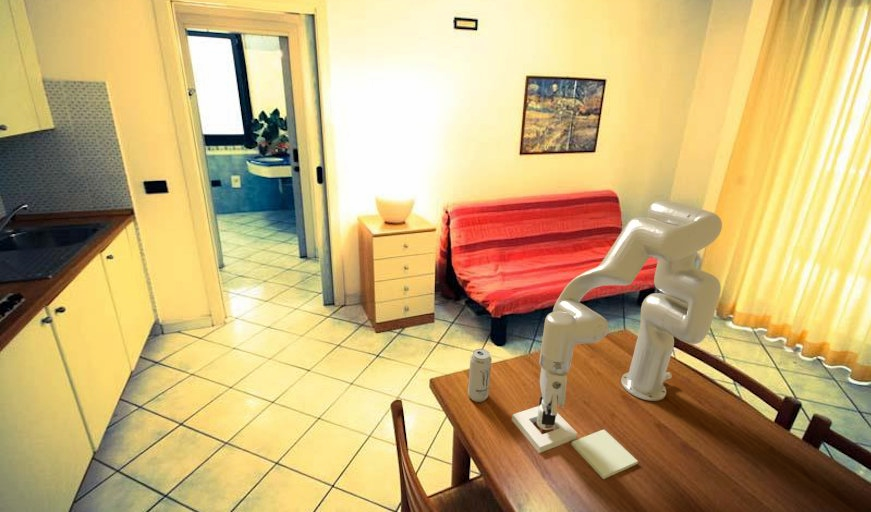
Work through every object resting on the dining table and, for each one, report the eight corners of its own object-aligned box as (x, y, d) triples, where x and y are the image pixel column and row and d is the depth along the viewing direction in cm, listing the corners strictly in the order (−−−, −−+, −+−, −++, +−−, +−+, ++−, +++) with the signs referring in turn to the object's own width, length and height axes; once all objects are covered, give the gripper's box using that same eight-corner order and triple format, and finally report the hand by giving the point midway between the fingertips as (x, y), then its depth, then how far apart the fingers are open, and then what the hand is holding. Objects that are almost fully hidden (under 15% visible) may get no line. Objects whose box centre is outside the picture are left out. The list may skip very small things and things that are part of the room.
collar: (546, 408, 117) (547, 402, 116) (576, 438, 107) (577, 433, 106) (511, 420, 112) (512, 414, 111) (538, 453, 102) (539, 447, 101)
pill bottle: (548, 433, 106) (552, 410, 103) (533, 424, 109) (536, 402, 106) (556, 424, 109) (560, 401, 106) (541, 415, 112) (544, 393, 109)
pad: (603, 432, 109) (603, 429, 109) (636, 464, 100) (637, 461, 100) (571, 444, 105) (571, 441, 105) (603, 479, 96) (604, 476, 95)
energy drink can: (478, 406, 117) (482, 363, 111) (463, 395, 121) (466, 352, 115) (492, 397, 121) (496, 354, 115) (477, 386, 125) (480, 345, 119)
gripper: (578, 383, 93) (567, 443, 100) (563, 341, 109) (554, 395, 116) (545, 380, 94) (536, 440, 101) (535, 339, 109) (528, 393, 116)
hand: (546, 416), depth 108 cm, fingers closed on pill bottle, 4 cm apart
